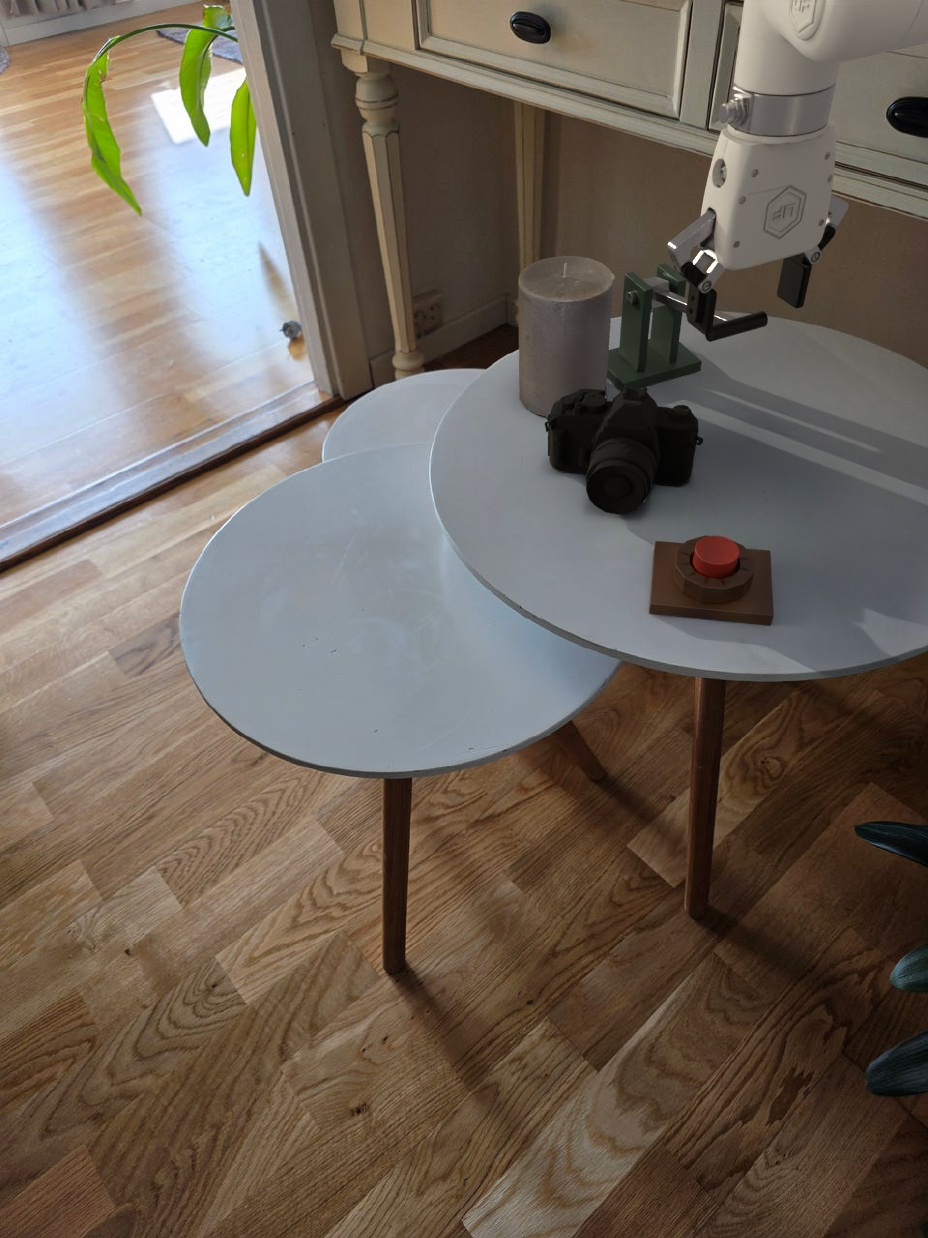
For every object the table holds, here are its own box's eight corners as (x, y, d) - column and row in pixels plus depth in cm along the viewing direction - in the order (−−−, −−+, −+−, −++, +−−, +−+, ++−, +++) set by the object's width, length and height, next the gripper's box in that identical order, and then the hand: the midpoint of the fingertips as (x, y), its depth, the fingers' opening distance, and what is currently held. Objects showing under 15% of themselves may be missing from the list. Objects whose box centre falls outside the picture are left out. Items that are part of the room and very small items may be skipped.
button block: (767, 560, 78) (774, 534, 75) (770, 625, 72) (778, 600, 70) (654, 550, 79) (657, 525, 77) (648, 613, 74) (652, 588, 72)
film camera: (530, 505, 85) (529, 428, 78) (552, 447, 91) (553, 371, 84) (688, 528, 81) (701, 449, 75) (700, 466, 87) (713, 388, 81)
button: (735, 552, 75) (739, 537, 74) (736, 581, 73) (739, 566, 71) (692, 548, 76) (695, 533, 74) (691, 577, 73) (694, 562, 72)
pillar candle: (515, 375, 101) (512, 247, 90) (599, 367, 101) (606, 238, 90) (524, 423, 94) (522, 291, 83) (613, 415, 94) (623, 282, 83)
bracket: (700, 370, 99) (714, 278, 91) (622, 392, 97) (629, 301, 89) (668, 342, 104) (679, 252, 96) (593, 363, 101) (597, 273, 94)
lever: (767, 333, 83) (769, 307, 81) (712, 348, 81) (713, 323, 80) (671, 294, 96) (671, 271, 95) (623, 307, 95) (622, 284, 93)
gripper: (709, 143, 63) (684, 356, 76) (904, 99, 67) (849, 309, 79) (657, 116, 68) (641, 319, 81) (841, 75, 72) (798, 277, 84)
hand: (744, 314), depth 80 cm, fingers open, 9 cm apart
